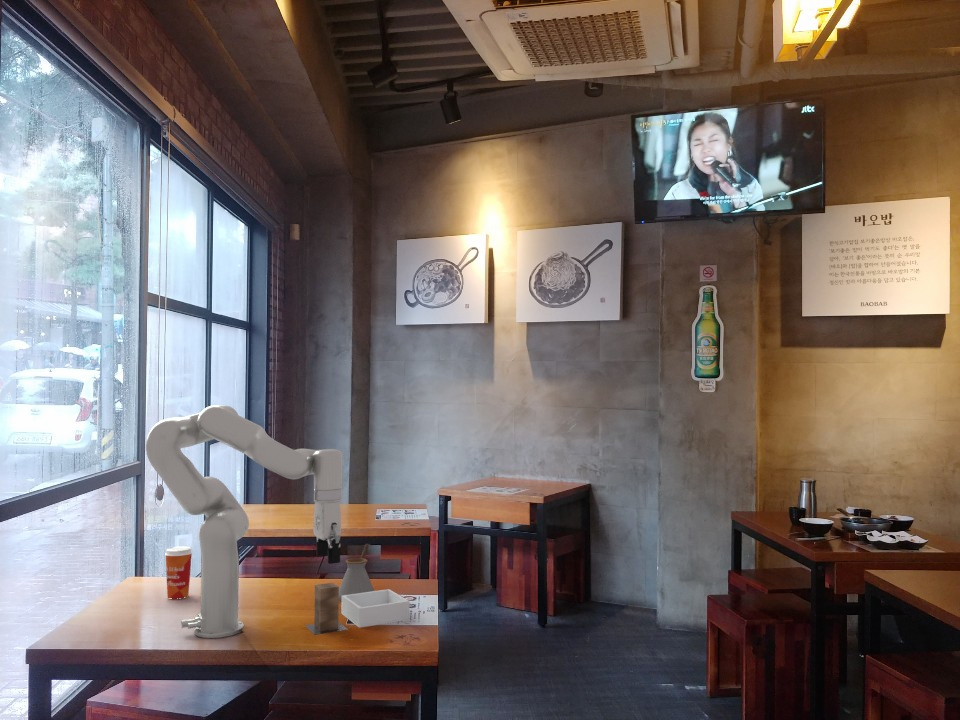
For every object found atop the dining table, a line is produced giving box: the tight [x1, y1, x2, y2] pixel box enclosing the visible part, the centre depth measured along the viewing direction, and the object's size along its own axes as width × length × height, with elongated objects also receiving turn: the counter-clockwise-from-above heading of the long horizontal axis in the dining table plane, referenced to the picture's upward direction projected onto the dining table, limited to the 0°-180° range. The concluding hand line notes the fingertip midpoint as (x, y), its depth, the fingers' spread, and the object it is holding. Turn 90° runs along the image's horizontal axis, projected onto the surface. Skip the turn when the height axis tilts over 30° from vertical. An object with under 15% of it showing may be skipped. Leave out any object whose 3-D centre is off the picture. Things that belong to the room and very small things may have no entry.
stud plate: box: [304, 621, 348, 636], centre depth 199 cm, size 9×9×5 cm
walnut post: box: [313, 582, 340, 631], centre depth 199 cm, size 5×5×11 cm
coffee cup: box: [164, 545, 194, 600], centre depth 232 cm, size 8×8×15 cm
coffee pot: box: [338, 543, 375, 602], centre depth 231 cm, size 21×12×15 cm, turn 175°
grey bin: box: [340, 588, 410, 628], centre depth 209 cm, size 15×15×6 cm
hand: (328, 559), depth 200 cm, fingers open, 9 cm apart
